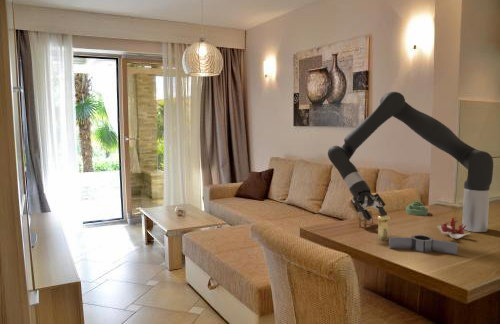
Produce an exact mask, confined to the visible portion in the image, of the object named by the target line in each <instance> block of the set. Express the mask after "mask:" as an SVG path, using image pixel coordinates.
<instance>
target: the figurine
mask: <svg viewBox="0 0 500 324" xmlns="http://www.w3.org/2000/svg"><path fill="white" fill-rule="evenodd" d="M457 218H458V217H451V218H450V219H451V220H450V222H449V223H450V225H448V224H449V223H448V222H447V223H446V222H444V223H442V225H440V224H438V225H436V227H437V228H438V230H440V233H441V234H443V235H445V234H448V235H449V237H450V238H452V239H456V240H458V239H461V238H463V237H464V236H467V235H470V234H471V233H470V232H465V231H464V228H465V227H466V225H465V226H464V227H462V226H463V224H462V223H461V225H459V226H458V229H456V223H458V220H455V219H457Z"/></svg>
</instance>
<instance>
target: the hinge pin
mask: <svg viewBox="0 0 500 324" xmlns="http://www.w3.org/2000/svg"><path fill="white" fill-rule="evenodd" d="M390 219H391V217H390V215H388V214H387V215H381V214H378V215H376V220H378V221H377V223H378V224H377V225H378V227H377V229H378V230H377V240H379V241H389V221H391V220H390Z"/></svg>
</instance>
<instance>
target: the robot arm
mask: <svg viewBox="0 0 500 324" xmlns="http://www.w3.org/2000/svg"><path fill="white" fill-rule="evenodd" d="M379 101H380V102H379V105H378V106H377V107H376V108H375V110H374V111H373V112H371V114H370V115H368V117H365V119H364V120H363V121H361V122H360V123H359V124H358V125H356V127H354V129H352V130H351V131H350V132H349V133H348V134H347V135H346V136H345V138H344V139H343V141H344V144H343V145H342V146H339V145H332V146H331V147H329V148H328V151H327V157H328V159H329V160H330V162H331V163H332V165H333V166H334V167H335V169H337V172H339V174H340V177H341V178H342V180H343V181H344V183H345V186H346V187H347V189H348V190H349V192H350V194H351V196H352V198H351V200H350V202H351V204H352V206H353V208H354V209H355V211H356V212H357V213H358V212H361V213H363V215H364V217H365V218H366V219H367V222H370V221H371V218H373V216H372V217H371V215H370V214H369V212H368V210H366V209H367V207H372V208H375V209H376V210H377V211H378V212H379V215H387V216H388V213H387V211H386V210H385V208H384V207H385V206H386V203H385V201H384V200H383V199H382V197H381V196H380V195H379V193H376V194H372V193H371V187H370V186H369V185H368V183H367V182H366V180H365V179H364V177H363V176H362V174H361V173H360V172H359V171H358V169H357V167H356V166H355V164H354V163H353V162H351V161H350V159H351V158H352V157H353V155H354V154H355V152H356V150H357V149H359V147H361V146H362V145H363V144H364V143H365V141H367V139H369V137H371V136H372V134H373V133H374V132H376V131H377V130H378V129H379V127H381V126H382V125H383V124H384V123H385V122H387V121H388V120H389V119H391V118H392V117H393V118H395V119H397V120H398V121H400V122H402V123H403V124H405V125H406V126H407V127H408V128H410V129H411V131H413V132H414V133H415V134H417V135H418V136H419V137H420V138H422V139H423V140H425V141H426V142H428V143H430V145H433V146H434V147H436V148H437V149H439V150H441V151H442V152H445V153H447V154H448V155H450V156H451V157H452V158H453V159H455V160H456V161H457V162H458V163H460V164H461V165H462V167H464V168H465V169H467V176H466V180H465V181H464V184H463V199H462V200H463V204H462V219H461V220H462V223H461V225H462V224H463V226H462V227H464V226H465V225H466V227H465V228H464V230H465V231H468V232H473V233H485V232H488V222H489V205H490V189H491V184H492V183H493V175H494V174H493V173H494V159H493V157H492V155H491V154H490V153H488V152H487V151H483V150H479V149H476V148H474V147H473V146H471V145H469V144H467V143H466V142H464V141H463V140H461V139H460V138H459V137H458V136H457V135H456V134H455V133H454V132H453V131H452V129H450V128H449V127H448V126H447V125H445V124H444V123H442V122H441V121H439V120H437V119H436V118H434V117H433V116H431V115H429V114H426V112H425V113H424V112H422V111H420V110H417V108H414V107H413V106H412V105H411V104H409V103H408V102H406V99H405V96H404V95H403V94H402V93H401V92H398V91H390V92H388V93H385V94H384V95H383V96H382V97H381V98H380V100H379ZM369 220H370V221H369ZM464 230H463V231H464Z"/></svg>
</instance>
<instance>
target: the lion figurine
mask: <svg viewBox="0 0 500 324" xmlns="http://www.w3.org/2000/svg"><path fill="white" fill-rule="evenodd" d="M366 210H368V212H369V214H370V215H371V217H372V218H371V219H370V220H369V221H368V220H367V219H366V218H365V217H364V215H363V213H361V212H357V214H356V216H357V222H358V225H357V228H361V227H362V225H363V228H365V229H366V228H368V226H367V223H368V222H370V224H374V217H373V213H372V212H373V211H372V210H371V209H367V208H366Z"/></svg>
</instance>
